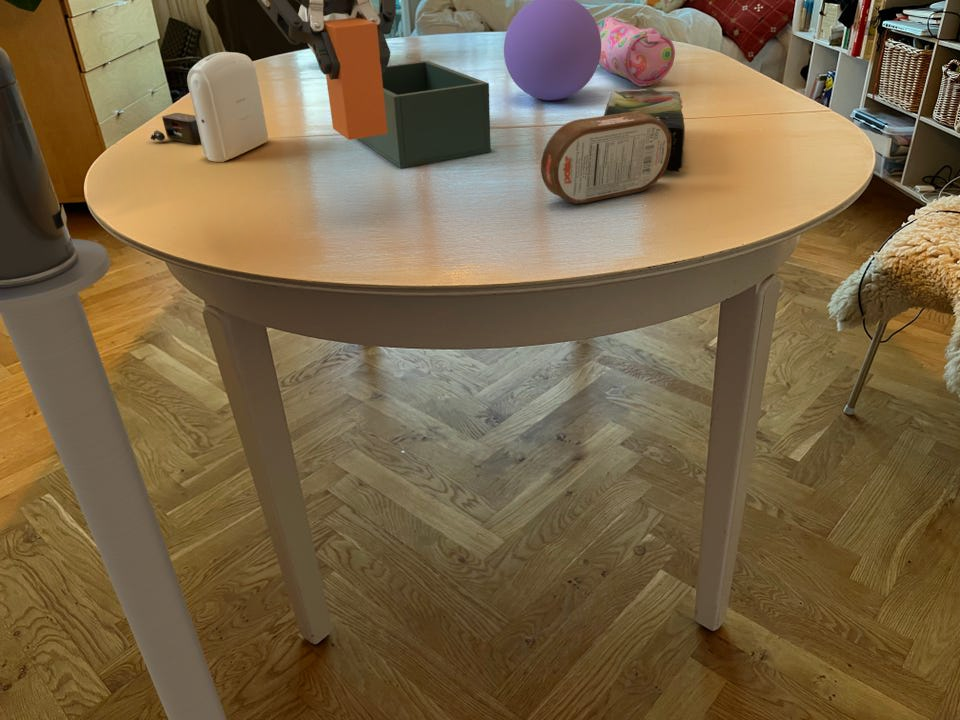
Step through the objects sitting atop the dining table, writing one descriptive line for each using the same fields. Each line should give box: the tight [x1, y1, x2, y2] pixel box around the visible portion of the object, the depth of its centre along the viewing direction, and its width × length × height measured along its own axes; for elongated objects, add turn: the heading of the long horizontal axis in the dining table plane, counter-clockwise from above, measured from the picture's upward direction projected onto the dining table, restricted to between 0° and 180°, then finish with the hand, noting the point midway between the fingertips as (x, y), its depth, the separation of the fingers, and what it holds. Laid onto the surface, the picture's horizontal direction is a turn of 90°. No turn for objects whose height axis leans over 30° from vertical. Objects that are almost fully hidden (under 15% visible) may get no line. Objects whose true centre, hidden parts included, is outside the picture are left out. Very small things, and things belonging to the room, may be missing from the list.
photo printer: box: [186, 51, 269, 163], centre depth 99 cm, size 10×4×12 cm, turn 158°
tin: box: [540, 111, 672, 205], centre depth 80 cm, size 15×3×8 cm, turn 115°
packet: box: [324, 18, 387, 141], centre depth 73 cm, size 4×5×10 cm
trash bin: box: [357, 60, 492, 169], centre depth 100 cm, size 13×19×8 cm
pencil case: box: [597, 15, 676, 87], centre depth 132 cm, size 21×9×9 cm, turn 11°
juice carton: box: [603, 88, 686, 172], centre depth 94 cm, size 20×10×6 cm, turn 169°
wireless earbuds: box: [150, 112, 202, 145], centre depth 106 cm, size 5×7×3 cm, turn 56°
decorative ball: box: [503, 0, 601, 101], centre depth 117 cm, size 15×15×15 cm
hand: (358, 70), depth 71 cm, fingers closed on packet, 4 cm apart
